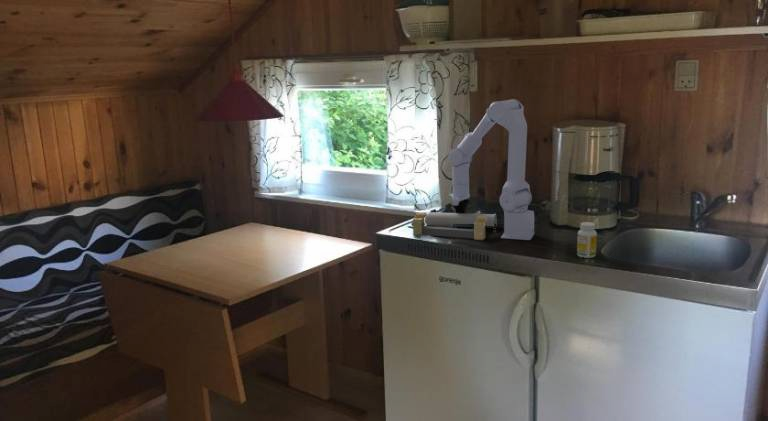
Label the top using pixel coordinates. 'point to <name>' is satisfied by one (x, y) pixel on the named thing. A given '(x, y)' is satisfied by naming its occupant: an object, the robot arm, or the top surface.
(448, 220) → the tube
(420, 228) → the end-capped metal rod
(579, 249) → the supplement bottle
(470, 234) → the dark gray bar
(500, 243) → the top surface
